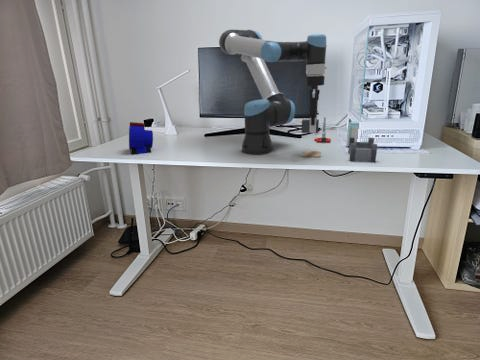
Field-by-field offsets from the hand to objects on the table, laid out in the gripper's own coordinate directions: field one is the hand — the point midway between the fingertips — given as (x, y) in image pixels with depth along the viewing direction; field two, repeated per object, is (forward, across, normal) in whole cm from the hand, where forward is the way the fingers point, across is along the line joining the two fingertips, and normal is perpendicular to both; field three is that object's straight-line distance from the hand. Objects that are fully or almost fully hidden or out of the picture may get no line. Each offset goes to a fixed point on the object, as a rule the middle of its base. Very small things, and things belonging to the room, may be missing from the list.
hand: (312, 131), depth 138 cm
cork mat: (+11, 0, 0) cm, 11 cm away
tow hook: (+11, +28, -4) cm, 31 cm away
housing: (+11, 0, -21) cm, 24 cm away
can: (+11, +17, -19) cm, 28 cm away
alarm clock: (+11, -5, +84) cm, 85 cm away
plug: (0, 0, +1) cm, 1 cm away
